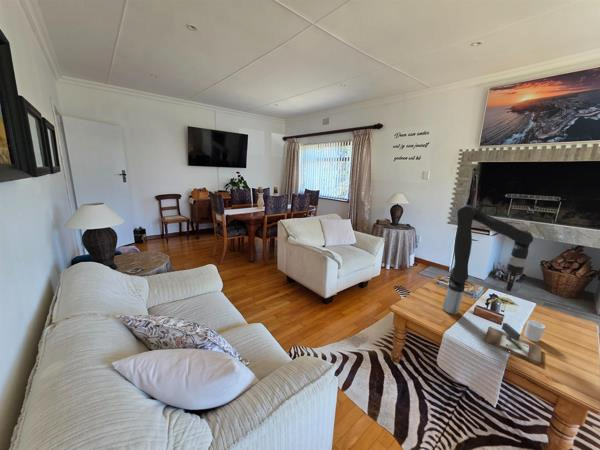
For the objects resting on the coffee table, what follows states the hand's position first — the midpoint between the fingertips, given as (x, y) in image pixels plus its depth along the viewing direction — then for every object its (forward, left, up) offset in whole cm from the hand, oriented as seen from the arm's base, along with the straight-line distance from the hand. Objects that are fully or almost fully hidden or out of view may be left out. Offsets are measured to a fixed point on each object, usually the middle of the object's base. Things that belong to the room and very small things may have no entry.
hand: (509, 288), depth 148 cm
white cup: (+16, +4, -28) cm, 33 cm away
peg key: (+7, -13, -26) cm, 30 cm away
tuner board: (+8, -14, -28) cm, 32 cm away
